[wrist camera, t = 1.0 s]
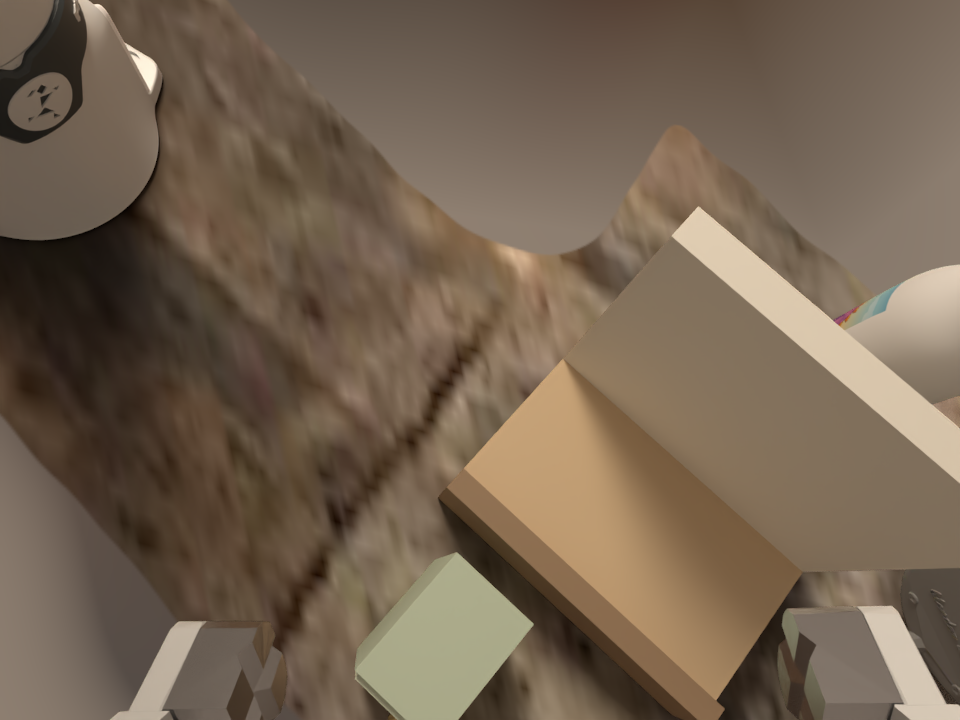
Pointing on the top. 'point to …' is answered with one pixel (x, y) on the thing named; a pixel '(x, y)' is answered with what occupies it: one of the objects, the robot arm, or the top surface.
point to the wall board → (709, 468)
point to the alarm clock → (935, 621)
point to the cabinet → (439, 643)
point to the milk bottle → (915, 331)
